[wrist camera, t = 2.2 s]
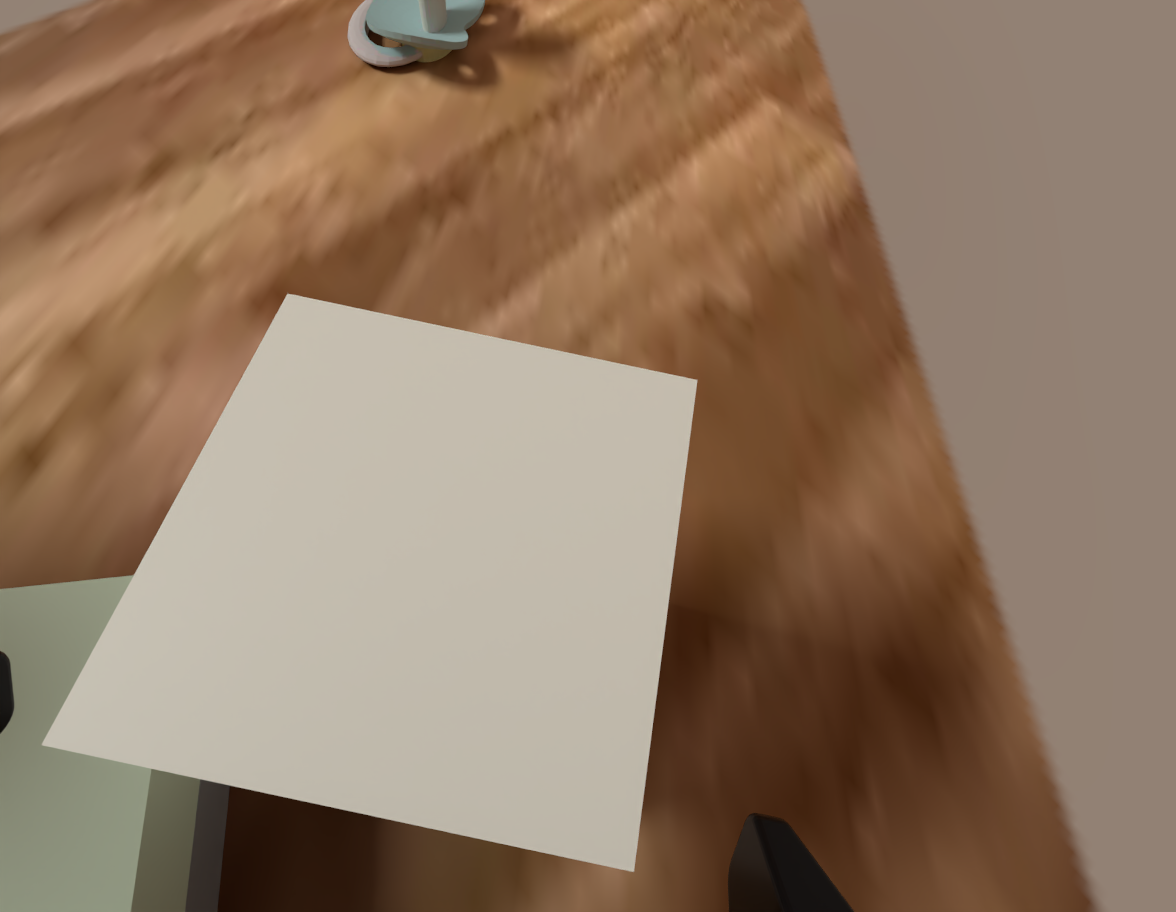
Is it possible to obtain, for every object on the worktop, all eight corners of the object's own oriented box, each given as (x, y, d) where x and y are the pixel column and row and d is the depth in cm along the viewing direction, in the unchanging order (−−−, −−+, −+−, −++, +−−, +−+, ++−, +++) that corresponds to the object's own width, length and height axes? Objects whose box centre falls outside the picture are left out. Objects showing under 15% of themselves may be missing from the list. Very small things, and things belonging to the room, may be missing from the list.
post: (565, 816, 16) (633, 871, 6) (333, 766, 16) (41, 745, 6) (606, 588, 19) (696, 379, 9) (408, 546, 19) (287, 293, 9)
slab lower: (217, 1021, 14) (167, 1060, 12) (-260, 1115, 13) (-400, 1176, 11) (255, 617, 18) (222, 597, 16) (-106, 658, 17) (-189, 642, 15)
